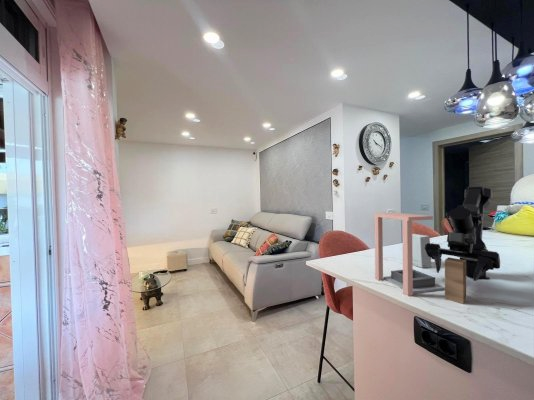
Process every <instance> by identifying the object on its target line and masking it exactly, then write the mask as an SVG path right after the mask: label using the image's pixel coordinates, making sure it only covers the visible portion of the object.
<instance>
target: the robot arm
mask: <svg viewBox="0 0 534 400" xmlns="http://www.w3.org/2000/svg"><path fill="white" fill-rule="evenodd" d="M463 197H464V200H463V203H462V205H457V206H456V207H454V208H452V209H450V211H448V217H449V220H450V224H451V227H452V228H453V232H451V231H450V232H448V231H447V237H446V243H447V247H448V248H443V247H441V245H440V244H439V243H433V242H432V243H431V242H430V243H427V244H426V245H425V250H426V253H427V255H428V256H429V257H431V260H434V263H435V269H436V273H438V274H439V273H440V271H441V265H442V255H444V256H445V255H446V256H452V257H457V258H459V259H461V260H466V277H468V278H471V279H473V281H474V282H476V281H477V280H479V279H480V280H489V279H490V277H489V276H487V271H490V270H494V269H495V270H497V269H500V268H501V259H500V254H499V252H497V251H492V250H489V249H487V246H486V243H485V242H484V241H483V230H484V228H483V227H484V220H485V219H484V218H485V209H486V208H488V206H490V205H491V200H493V199H494V198H493V197H494V193H493V189H492V188H487V187H484V186H479V185H477V186H476V185H475V186H467V187H466V188H465V189H464V196H463Z"/></svg>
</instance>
